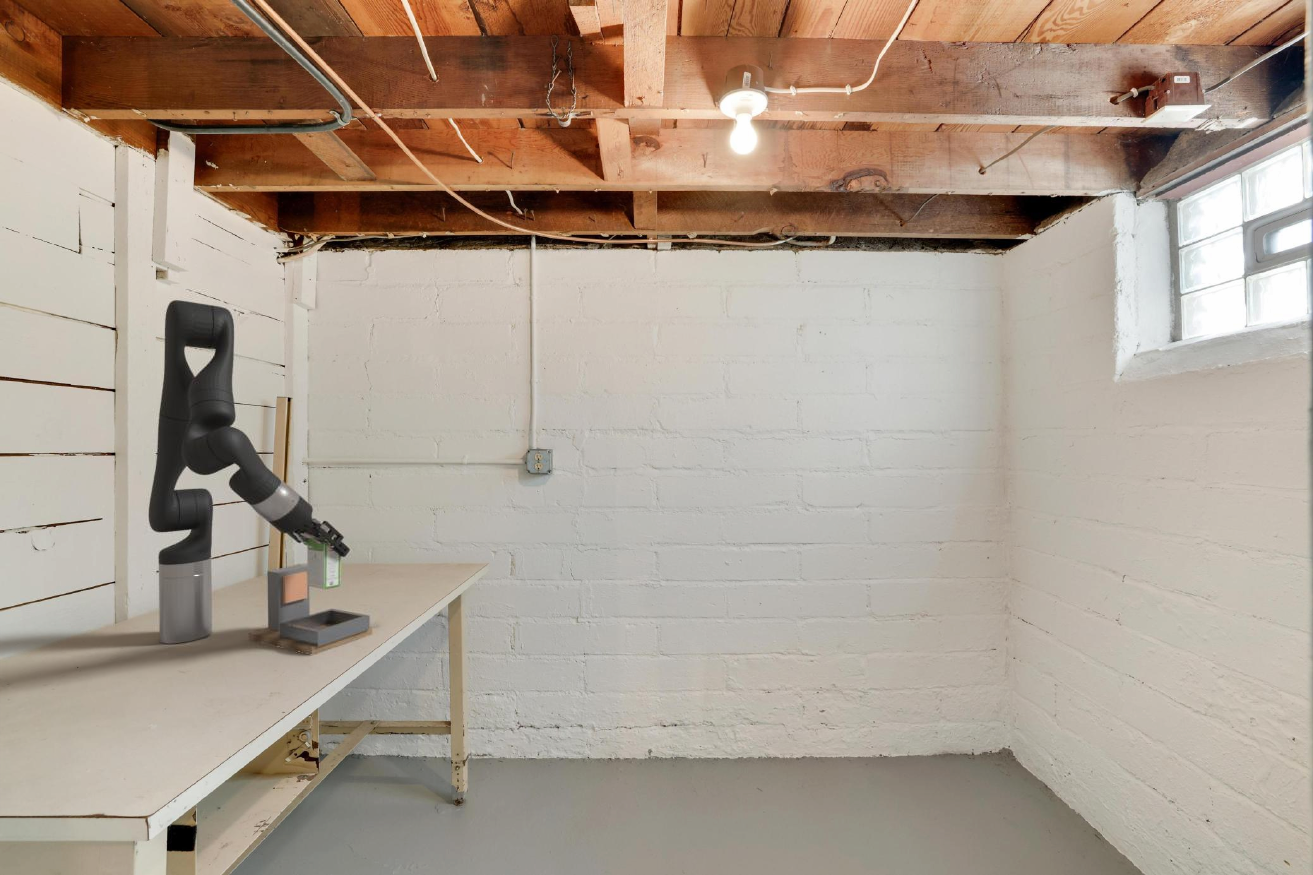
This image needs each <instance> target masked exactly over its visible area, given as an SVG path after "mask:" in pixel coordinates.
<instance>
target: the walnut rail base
mask: <svg viewBox="0 0 1313 875" xmlns="http://www.w3.org/2000/svg"><path fill="white" fill-rule="evenodd" d="M333 625H336V624H332V623H330V624H327V625H324V626H320V627H317V628H314V629H318V630H320V629H324V628H327V627H330V626H333ZM371 635H373V626H370V629H368V630H365V631H362V632H359V633H356V634H354V635H351V636H348V637H345V638H342V639H339V640H336V641H333V642H330V643H327V644H324V645H321V646H313V645H309V644H305V643H301V642H296V641H292V640H288V639H284V638H280V631H276V630H272V629H268V627H265V628H261V629H258V630H253V631H251V632H248V639H249V640H250V641H253V642H257V641H258V643H261V642H263V643H262V644H265V643H266V644H265V645H269V644H271V645H270V646H273V645H274V646H273V647H277V646H279V647H278V648H281V647H282V648H281V649H285V648H287V649H286V650H289V649H292V650H291V651H293V650H295V651H294V652H297V651H300V652H299V653H301V652H303V653H302V654H305V653H308V654H307V655H309V654H314V655H316V654H319V653H321V652H320V651H322V652H325V651H327V649H328V650H331V649H334V648H337V647H339V646H342V645H345V644H347V643H351V642H353V641H356V640H359V639H361V638H365V637H367V636H371ZM330 648H331V649H330ZM324 650H325V651H324ZM318 652H319V653H318ZM315 653H316V654H315Z"/></svg>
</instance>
